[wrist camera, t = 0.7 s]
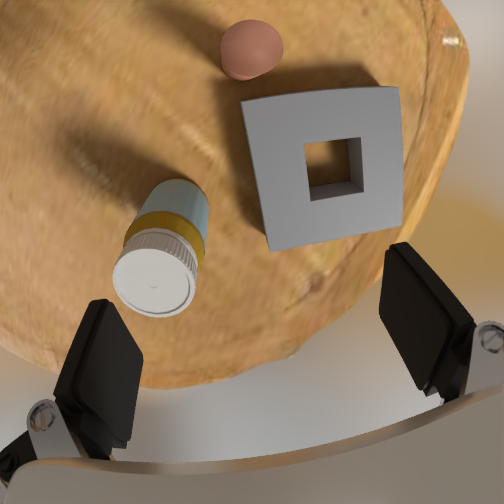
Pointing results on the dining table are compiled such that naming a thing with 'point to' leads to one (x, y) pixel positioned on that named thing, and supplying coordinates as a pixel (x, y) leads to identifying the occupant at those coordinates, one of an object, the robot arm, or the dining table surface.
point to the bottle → (163, 250)
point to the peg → (250, 49)
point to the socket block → (295, 171)
